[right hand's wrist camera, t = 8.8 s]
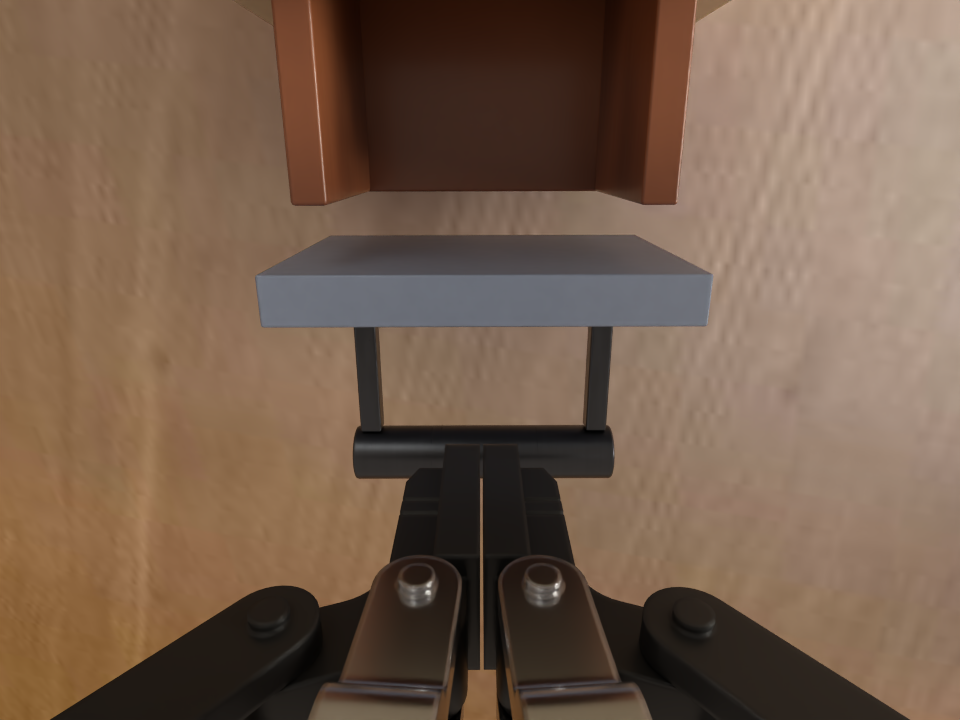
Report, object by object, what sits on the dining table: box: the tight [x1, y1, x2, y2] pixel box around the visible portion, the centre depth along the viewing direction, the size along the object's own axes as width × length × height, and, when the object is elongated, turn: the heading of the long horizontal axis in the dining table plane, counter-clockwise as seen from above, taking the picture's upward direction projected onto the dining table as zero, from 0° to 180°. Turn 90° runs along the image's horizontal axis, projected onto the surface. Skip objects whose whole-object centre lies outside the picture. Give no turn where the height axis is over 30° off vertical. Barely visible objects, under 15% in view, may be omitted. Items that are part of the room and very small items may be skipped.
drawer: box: [255, 0, 713, 479], centre depth 15 cm, size 25×10×7 cm, turn 0°
